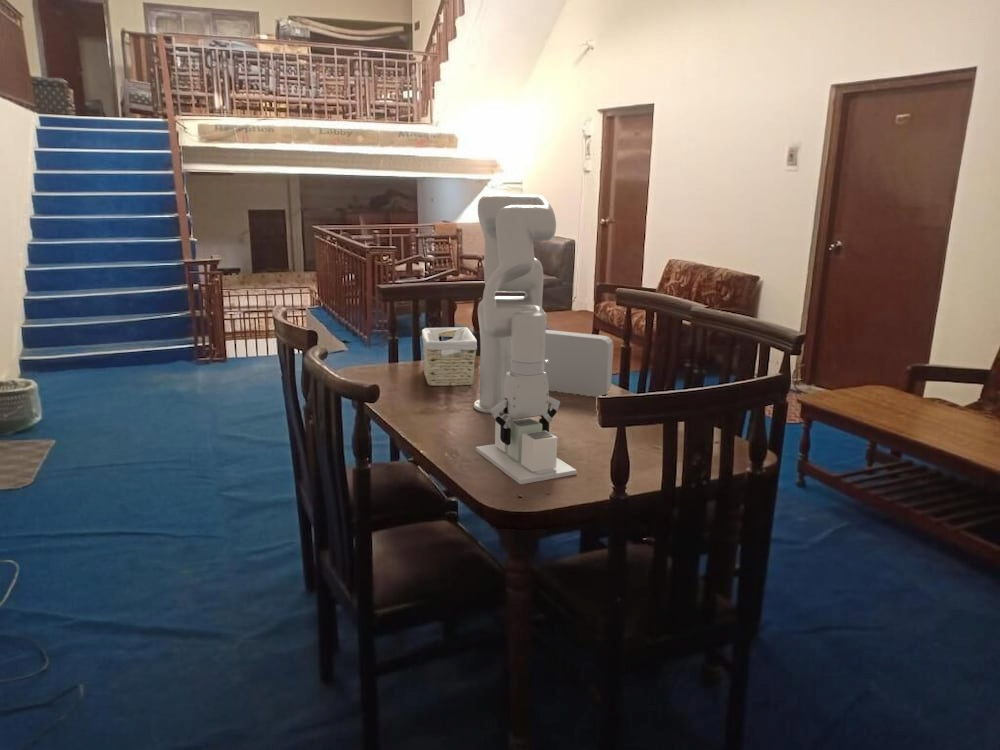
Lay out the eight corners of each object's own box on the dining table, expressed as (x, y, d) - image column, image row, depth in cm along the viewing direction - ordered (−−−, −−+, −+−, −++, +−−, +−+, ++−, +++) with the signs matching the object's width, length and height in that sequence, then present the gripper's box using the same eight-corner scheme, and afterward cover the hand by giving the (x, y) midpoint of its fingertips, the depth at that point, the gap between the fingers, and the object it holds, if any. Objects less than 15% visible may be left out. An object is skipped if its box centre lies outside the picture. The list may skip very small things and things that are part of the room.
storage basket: (421, 369, 249) (420, 326, 245) (468, 368, 251) (469, 326, 248) (425, 388, 226) (425, 341, 222) (477, 387, 229) (478, 340, 225)
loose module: (507, 454, 168) (508, 420, 166) (530, 450, 171) (531, 416, 169) (517, 461, 164) (518, 426, 162) (541, 457, 166) (542, 423, 164)
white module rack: (475, 450, 174) (476, 415, 172) (527, 442, 180) (528, 408, 178) (520, 484, 155) (521, 445, 153) (576, 474, 161) (578, 436, 159)
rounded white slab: (612, 392, 226) (616, 335, 221) (605, 398, 219) (609, 339, 215) (526, 381, 237) (527, 326, 232) (517, 386, 230) (518, 330, 225)
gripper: (552, 359, 169) (549, 430, 174) (484, 366, 161) (483, 440, 166) (569, 367, 163) (565, 440, 167) (499, 375, 155) (498, 451, 159)
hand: (524, 440), depth 166 cm, fingers open, 9 cm apart
